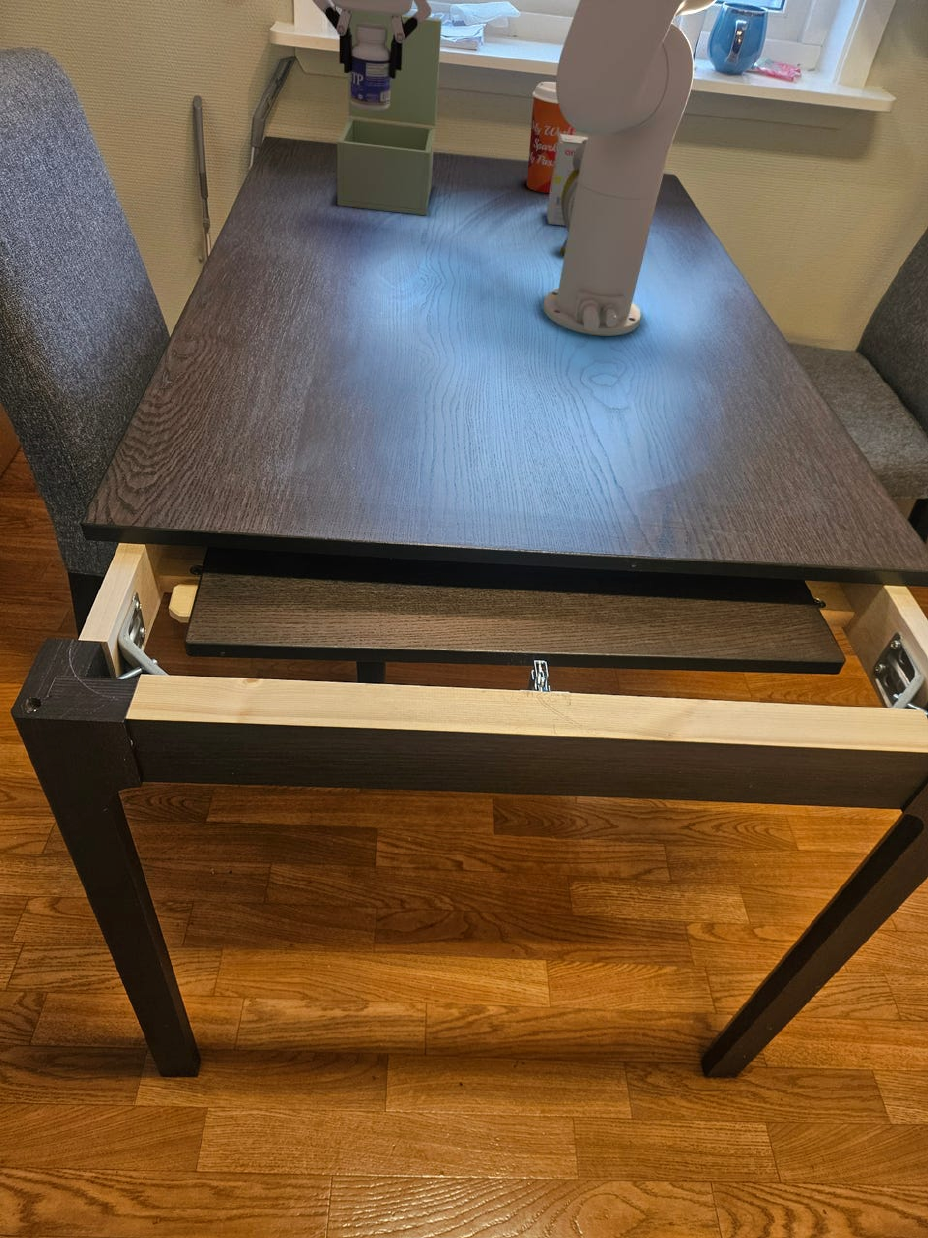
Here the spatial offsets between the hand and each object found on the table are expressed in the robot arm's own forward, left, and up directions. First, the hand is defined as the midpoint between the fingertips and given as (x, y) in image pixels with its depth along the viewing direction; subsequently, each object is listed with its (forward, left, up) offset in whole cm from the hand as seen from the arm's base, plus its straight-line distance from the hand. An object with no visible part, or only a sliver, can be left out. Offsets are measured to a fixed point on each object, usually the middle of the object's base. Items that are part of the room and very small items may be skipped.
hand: (370, 71), depth 111 cm
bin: (+14, -1, -19) cm, 24 cm away
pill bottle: (0, 0, -4) cm, 4 cm away
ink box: (+12, -31, -20) cm, 39 cm away
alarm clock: (-1, -33, -20) cm, 39 cm away
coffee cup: (+28, -27, -20) cm, 44 cm away
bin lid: (+19, -1, -3) cm, 19 cm away
